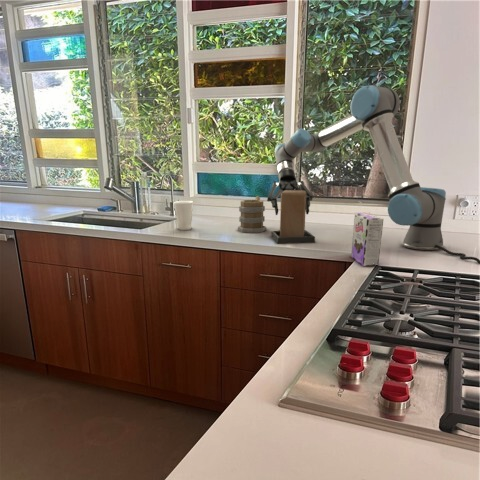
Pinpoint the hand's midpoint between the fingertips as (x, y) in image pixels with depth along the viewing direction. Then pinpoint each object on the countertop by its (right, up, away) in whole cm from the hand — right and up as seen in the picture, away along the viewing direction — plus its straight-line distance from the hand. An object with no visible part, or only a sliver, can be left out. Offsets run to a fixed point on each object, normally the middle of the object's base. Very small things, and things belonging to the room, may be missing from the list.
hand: (292, 212), depth 200 cm
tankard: (-16, -2, +28) cm, 32 cm away
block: (0, -11, +3) cm, 11 cm away
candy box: (+22, -26, -35) cm, 49 cm away
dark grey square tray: (0, -11, +3) cm, 11 cm away
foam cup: (-50, -1, +30) cm, 58 cm away
